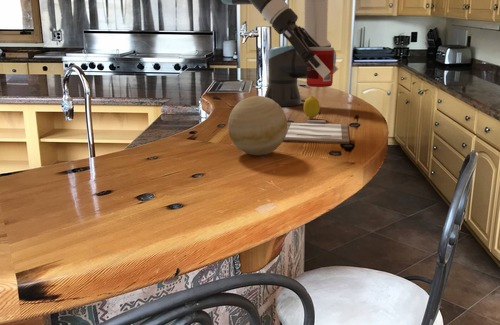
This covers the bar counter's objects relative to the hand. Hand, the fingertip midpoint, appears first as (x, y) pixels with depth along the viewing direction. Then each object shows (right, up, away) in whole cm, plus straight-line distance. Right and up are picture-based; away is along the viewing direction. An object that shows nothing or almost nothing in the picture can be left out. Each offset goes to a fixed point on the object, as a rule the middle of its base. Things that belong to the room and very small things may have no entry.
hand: (330, 73), depth 153 cm
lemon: (-2, -11, +29) cm, 31 cm away
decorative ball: (-22, -24, -18) cm, 37 cm away
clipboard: (-4, -17, +6) cm, 19 cm away
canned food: (-3, -3, +2) cm, 5 cm away
